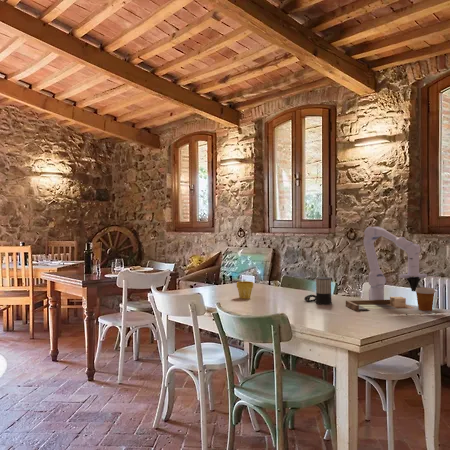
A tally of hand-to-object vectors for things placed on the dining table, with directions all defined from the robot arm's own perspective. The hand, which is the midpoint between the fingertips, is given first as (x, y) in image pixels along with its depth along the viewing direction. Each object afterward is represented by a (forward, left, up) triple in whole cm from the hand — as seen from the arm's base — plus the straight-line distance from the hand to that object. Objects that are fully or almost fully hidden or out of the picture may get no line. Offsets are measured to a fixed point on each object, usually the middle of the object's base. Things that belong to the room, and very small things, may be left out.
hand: (413, 291), depth 245 cm
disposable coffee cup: (+12, 0, -9) cm, 15 cm away
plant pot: (-43, -87, -9) cm, 97 cm away
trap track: (0, -19, -9) cm, 21 cm away
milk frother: (-21, -47, -9) cm, 52 cm away
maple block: (0, -9, -8) cm, 12 cm away
